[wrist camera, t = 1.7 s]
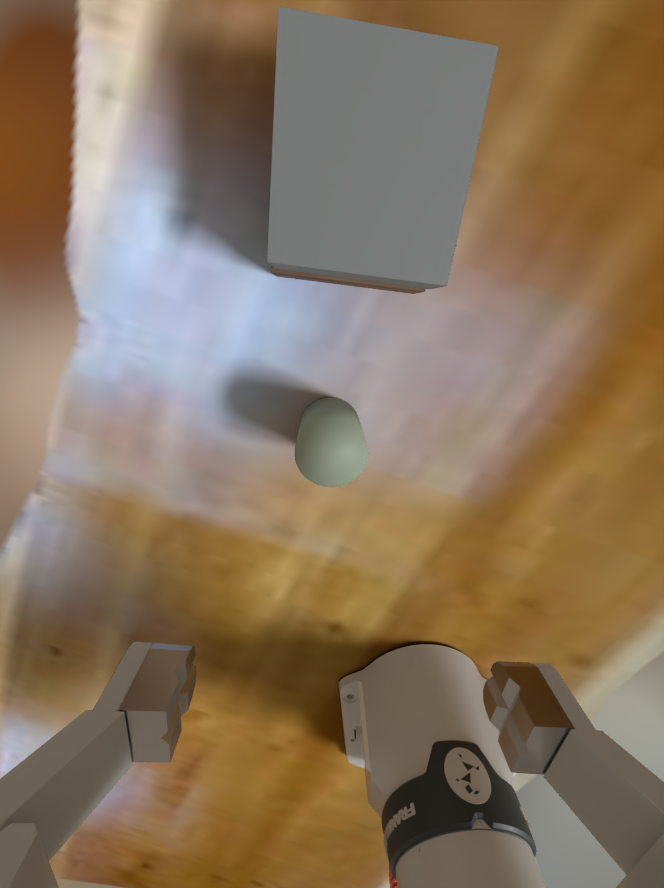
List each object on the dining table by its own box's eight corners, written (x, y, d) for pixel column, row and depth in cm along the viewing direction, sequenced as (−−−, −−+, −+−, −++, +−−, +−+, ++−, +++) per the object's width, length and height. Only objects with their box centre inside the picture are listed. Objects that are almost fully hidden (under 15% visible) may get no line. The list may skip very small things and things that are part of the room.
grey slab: (429, 289, 23) (447, 285, 19) (275, 268, 22) (267, 261, 19) (468, 91, 19) (499, 46, 16) (286, 60, 18) (278, 6, 15)
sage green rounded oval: (355, 456, 30) (362, 489, 24) (297, 450, 30) (292, 483, 24) (363, 400, 28) (373, 422, 23) (302, 394, 28) (297, 415, 22)
